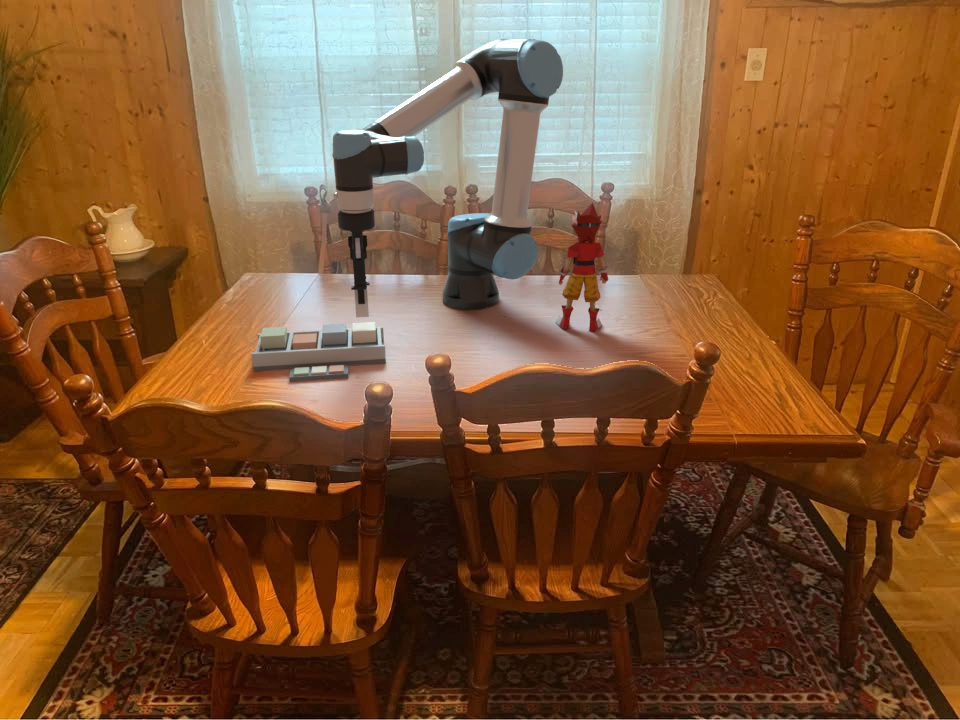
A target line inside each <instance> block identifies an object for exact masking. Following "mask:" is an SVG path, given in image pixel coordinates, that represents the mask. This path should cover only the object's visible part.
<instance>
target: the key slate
mask: <svg viewBox="0 0 960 720" xmlns="http://www.w3.org/2000/svg"><path fill="white" fill-rule="evenodd" d="M346 328H347V324H346V323H345V322H344V323H334V324H333V323H330V324H329V323H327V324H322V329H321V330H322V338H323V345H333V344H346V342H347V333H346Z"/></svg>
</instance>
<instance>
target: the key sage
mask: <svg viewBox="0 0 960 720" xmlns="http://www.w3.org/2000/svg"><path fill="white" fill-rule="evenodd" d="M287 332H288V329H287V326H275V327H272V326H271V327H262V330H261V332H260V333H261V336H260V338H261V346H262V349H264V348H281V347H286V343H287V339H288V338H287Z"/></svg>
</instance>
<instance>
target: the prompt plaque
mask: <svg viewBox="0 0 960 720" xmlns="http://www.w3.org/2000/svg"><path fill="white" fill-rule="evenodd" d="M349 370H350V369H349V366H348V365H333V366H317V367H300V368H291V369H290V373H289V377H288V378H289V382H292V383H293V382H307V381H321V380H322V381H323V380H334V379H338V380H339V379H349Z"/></svg>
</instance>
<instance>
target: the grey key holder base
mask: <svg viewBox="0 0 960 720" xmlns="http://www.w3.org/2000/svg"><path fill="white" fill-rule="evenodd" d="M352 328H353V327H346V333H347V342H346V344H333V345H323V338H322V329H313V330H312V329H311V330H309V329H308V330H294V331H293V330H292V331H290V330H289V331H287V338H288V339H287V343H286V347H281V348H264V349H262V346H261V338H260V336H261V333H262V332H259V333H257V340H258V341H257V345H256V348H255V351H254V352H253V351H251V353H250V354H251V355H250V356H251V361H252V369H253V372H267V371H268V372H269V371H283V370H284V371H285V370H286V371H287V370H291V368H300V367H317V366H333V365H348V367H350V366H361V365H362V366H363V365H365V366H366V365H380V364H386V363H387V362H386V344H385V341H384V339H385V338H384V336H385V335H384V326H383V325H382V326H375V329H376V342H367V343H353V332H352ZM313 333H317V339H318V346H317V349H303V350H293V345H292V342H293V337H294V335H295V334H313Z"/></svg>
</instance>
